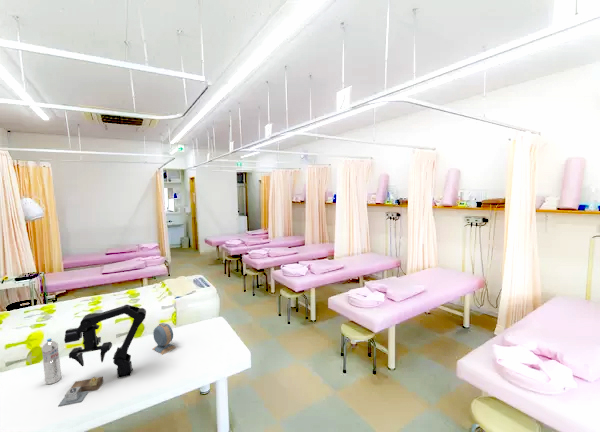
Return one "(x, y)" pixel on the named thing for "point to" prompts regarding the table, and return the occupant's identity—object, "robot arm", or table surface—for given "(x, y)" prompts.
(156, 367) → the table surface
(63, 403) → the mat
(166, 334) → the alarm clock
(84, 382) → the plane body
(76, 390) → the lever cap
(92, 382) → the lever
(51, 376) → the water bottle
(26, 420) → the table surface
